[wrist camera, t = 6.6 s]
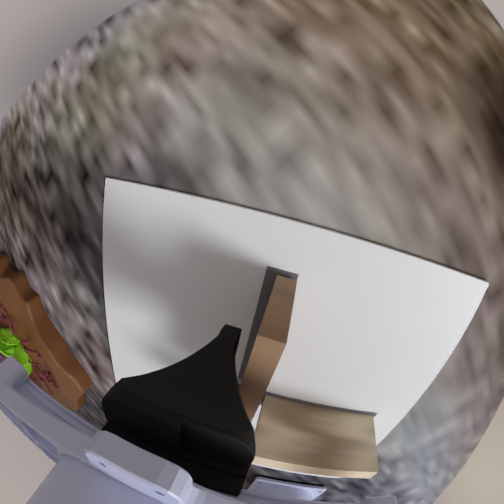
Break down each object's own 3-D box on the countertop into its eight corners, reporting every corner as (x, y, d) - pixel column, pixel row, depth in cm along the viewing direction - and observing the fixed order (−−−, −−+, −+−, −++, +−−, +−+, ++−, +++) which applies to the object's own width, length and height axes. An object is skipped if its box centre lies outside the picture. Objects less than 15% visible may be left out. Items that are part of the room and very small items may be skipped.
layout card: (339, 475, 20) (339, 478, 19) (124, 412, 23) (122, 414, 22) (486, 281, 11) (489, 283, 11) (108, 177, 14) (105, 178, 14)
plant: (63, 408, 29) (25, 452, 19) (-11, 305, 26) (-58, 337, 16) (116, 387, 22) (52, 466, 11) (6, 228, 19) (-77, 266, 9)
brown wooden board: (256, 387, 16) (237, 449, 12) (241, 382, 16) (218, 443, 12) (297, 280, 13) (286, 343, 9) (277, 274, 13) (257, 334, 9)
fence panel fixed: (230, 397, 17) (201, 470, 12) (235, 381, 17) (203, 459, 11) (364, 425, 16) (366, 497, 10) (375, 411, 16) (382, 487, 10)
